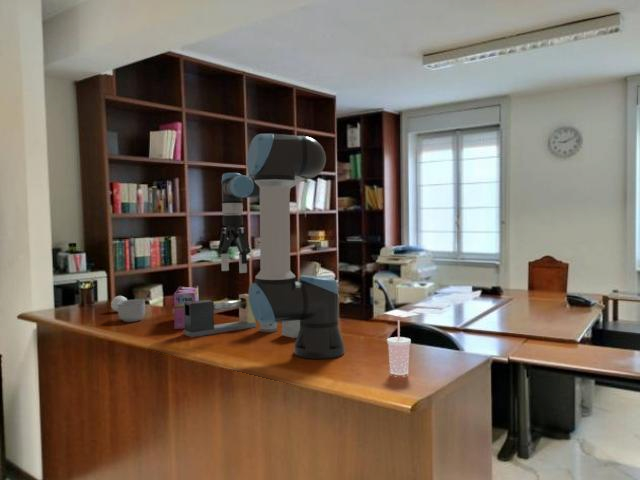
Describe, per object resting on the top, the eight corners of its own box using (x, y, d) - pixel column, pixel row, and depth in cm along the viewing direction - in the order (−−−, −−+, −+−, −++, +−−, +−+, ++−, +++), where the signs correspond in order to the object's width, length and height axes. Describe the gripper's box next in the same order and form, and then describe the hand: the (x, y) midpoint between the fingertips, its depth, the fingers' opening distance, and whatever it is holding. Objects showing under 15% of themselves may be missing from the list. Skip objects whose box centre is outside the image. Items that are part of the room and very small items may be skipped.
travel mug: (275, 333, 184) (274, 277, 183) (257, 332, 185) (256, 277, 184) (279, 329, 190) (279, 275, 189) (262, 328, 191) (261, 275, 190)
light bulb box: (303, 330, 187) (303, 301, 187) (316, 333, 182) (316, 303, 182) (281, 335, 180) (281, 304, 179) (294, 338, 175) (293, 307, 175)
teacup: (148, 321, 209) (148, 301, 209) (121, 324, 203) (120, 304, 203) (139, 316, 221) (139, 297, 221) (113, 319, 215) (112, 300, 215)
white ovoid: (113, 310, 235) (113, 294, 235) (130, 310, 236) (130, 294, 236) (107, 314, 225) (106, 298, 225) (124, 314, 226) (124, 297, 226)
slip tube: (208, 312, 184) (208, 304, 184) (204, 311, 187) (204, 303, 187) (250, 307, 195) (249, 299, 195) (246, 306, 198) (245, 298, 198)
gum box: (180, 317, 216) (179, 285, 216) (199, 316, 218) (199, 285, 217) (174, 329, 193) (173, 293, 192) (195, 328, 194) (194, 292, 194)
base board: (192, 337, 179) (191, 332, 179) (183, 333, 184) (183, 329, 184) (256, 326, 195) (256, 323, 195) (246, 324, 200) (246, 320, 200)
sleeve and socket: (191, 332, 179) (190, 302, 179) (184, 330, 184) (183, 300, 183) (255, 322, 195) (254, 295, 195) (247, 320, 200) (246, 293, 199)
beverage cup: (389, 369, 137) (388, 317, 136) (412, 371, 135) (411, 318, 134) (385, 376, 131) (384, 322, 130) (409, 378, 129) (409, 323, 128)
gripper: (259, 213, 184) (260, 272, 185) (225, 215, 204) (226, 269, 204) (240, 213, 179) (242, 274, 180) (208, 215, 199) (209, 270, 199)
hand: (233, 271), depth 192 cm, fingers open, 13 cm apart
